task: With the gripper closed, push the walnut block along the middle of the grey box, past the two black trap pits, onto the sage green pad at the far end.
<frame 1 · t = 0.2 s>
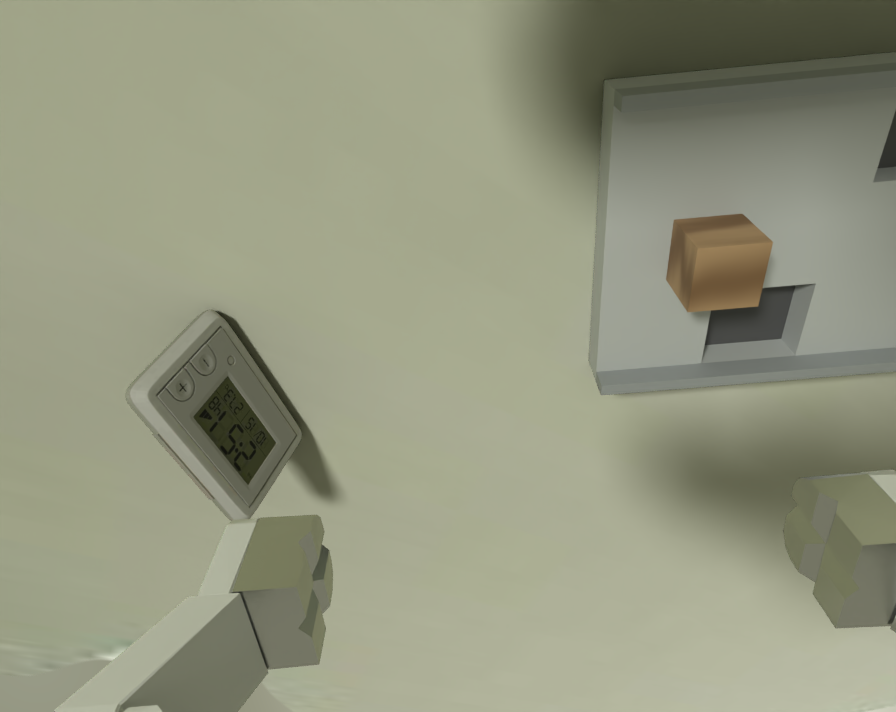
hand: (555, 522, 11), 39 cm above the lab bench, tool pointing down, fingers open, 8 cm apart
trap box: (822, 219, 49), on the lab bench
digital clock: (241, 379, 57), on the lab bench
walnut block: (702, 247, 47), point 3 cm above the lab bench, touching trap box
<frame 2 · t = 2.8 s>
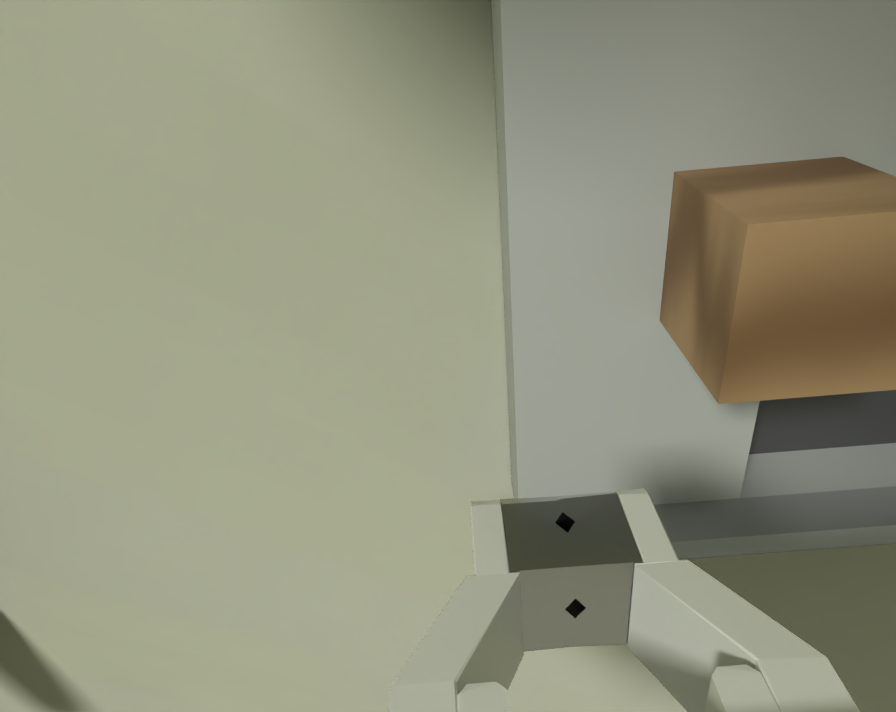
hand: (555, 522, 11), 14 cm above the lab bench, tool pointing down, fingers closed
walnut block: (745, 243, 20), point 3 cm above the lab bench, touching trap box
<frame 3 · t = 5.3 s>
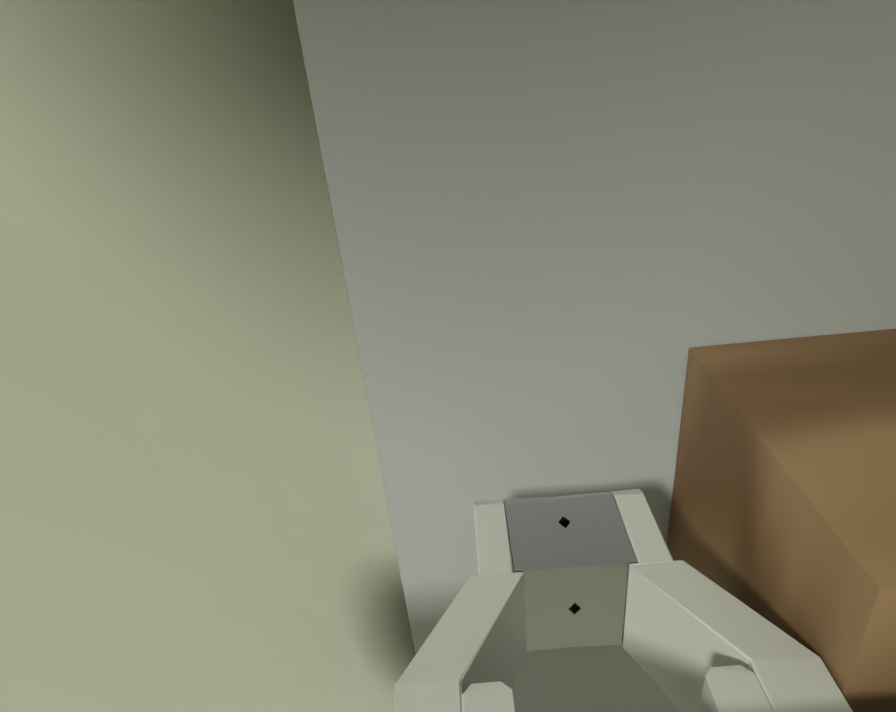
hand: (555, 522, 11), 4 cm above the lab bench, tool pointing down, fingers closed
walnut block: (809, 452, 12), point 3 cm above the lab bench, touching gripper, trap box
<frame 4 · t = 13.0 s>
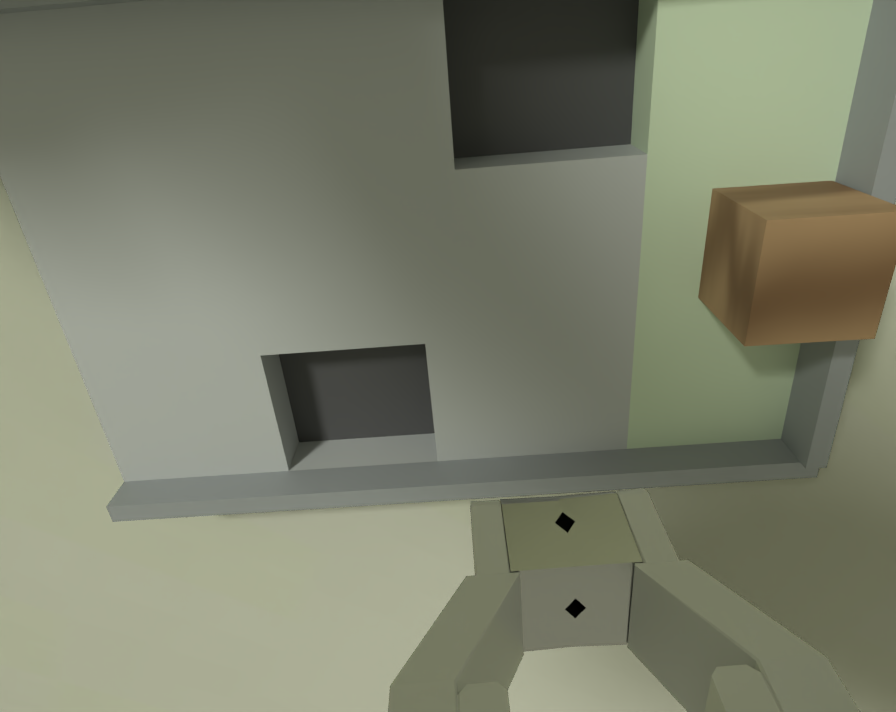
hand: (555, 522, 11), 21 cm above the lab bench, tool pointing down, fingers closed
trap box: (439, 242, 30), on the lab bench
walnut block: (761, 241, 27), point 3 cm above the lab bench, touching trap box
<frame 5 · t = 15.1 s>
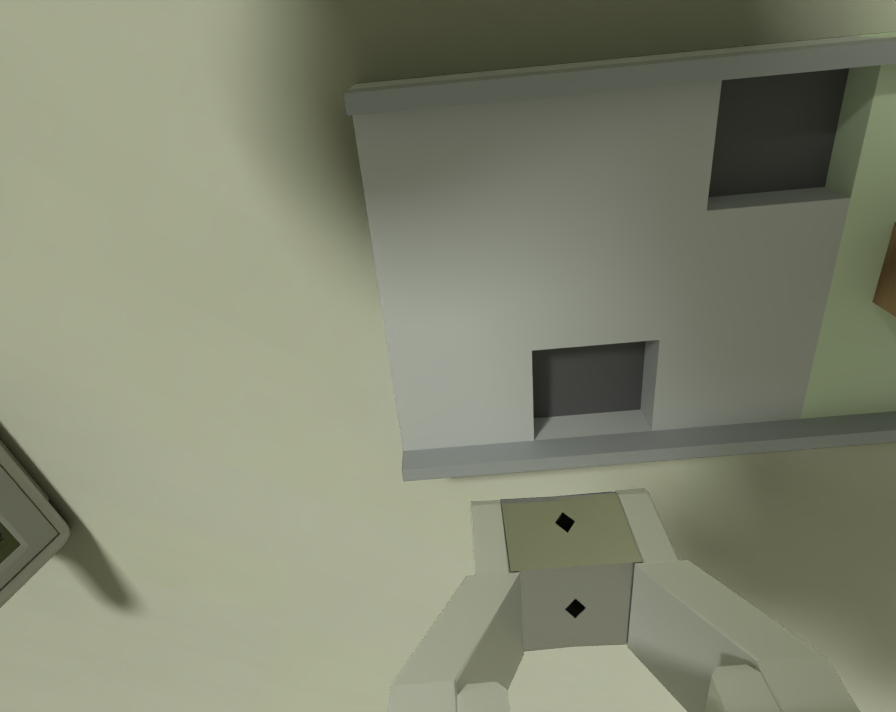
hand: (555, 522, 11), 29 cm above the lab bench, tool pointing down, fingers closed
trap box: (665, 261, 39), on the lab bench
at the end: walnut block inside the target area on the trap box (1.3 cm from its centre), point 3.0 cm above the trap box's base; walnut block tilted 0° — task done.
